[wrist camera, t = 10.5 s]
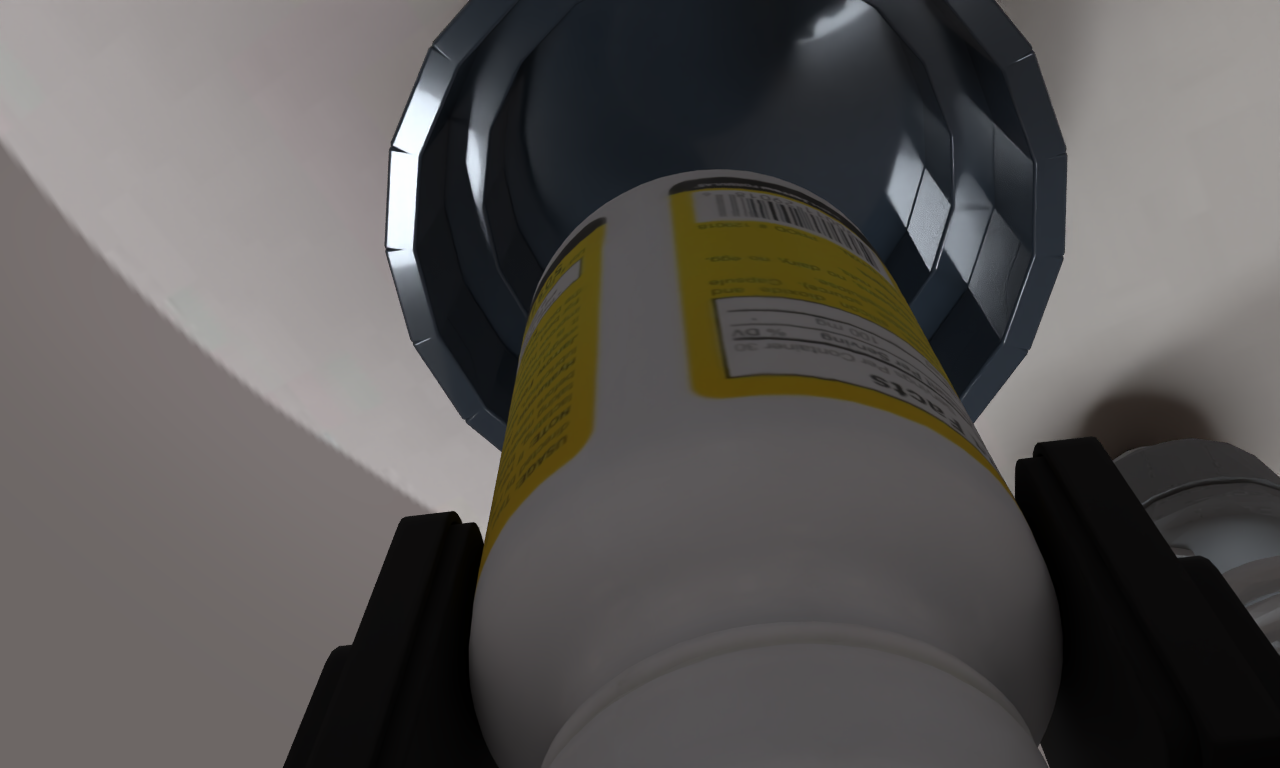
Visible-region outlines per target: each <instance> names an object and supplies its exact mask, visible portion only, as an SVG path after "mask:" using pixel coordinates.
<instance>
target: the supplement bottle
mask: <svg viewBox="0 0 1280 768" xmlns="http://www.w3.org/2000/svg"><path fill="white" fill-rule="evenodd" d="M1062 665H1063V631H1062V624H1061V617H1060V609H1059V603H1058V599H1057V596H1056V592H1055V588H1054V586H1053V583H1052V580H1051V577H1050V574H1049V571H1048V568H1047V565H1046V563H1045V561H1044V559H1043V556H1042V554H1041V552H1040V550H1039V548H1038V545H1037V543H1036V541H1035V538H1034V536H1033V533H1032V531H1031V529H1030V527H1029V525H1028V523H1027V521H1026V519H1025V517H1024V515H1023V513H1022V511H1021V510H1020V508H1019V506H1018V504H1017V503H1016V501H1015V498H1014V496H1013V495H1012V493H1011V491H1010V490H1009V488H1008V486H1007V485H1006V483H1005V481H1004V479H1003V478H1002V476H1001V474H1000V472H999V470H998V469H997V467H996V465H995V463H994V461H993V459H992V458H991V456H990V454H989V452H988V450H987V449H986V447H985V445H984V443H983V441H982V439H981V437H980V435H979V434H978V432H977V430H976V428H975V426H974V424H973V423H972V421H971V419H970V417H969V415H968V414H967V412H966V410H965V408H964V406H963V404H962V403H961V401H960V399H959V397H958V395H957V393H956V392H955V390H954V388H953V386H952V384H951V382H950V380H949V379H948V377H947V375H946V373H945V371H944V369H943V368H942V366H941V364H940V362H939V360H938V359H937V357H936V355H935V354H934V352H933V350H932V348H931V346H930V344H929V342H928V340H927V338H926V336H925V335H924V333H923V331H922V329H921V327H920V326H919V324H918V322H917V320H916V318H915V316H914V314H913V313H912V311H911V309H910V307H909V305H908V304H907V302H906V300H905V298H904V297H903V295H902V293H901V291H900V290H899V288H898V286H897V284H896V282H895V280H894V279H893V277H892V276H891V274H890V273H889V271H888V269H887V267H886V265H885V264H884V262H883V261H882V259H881V258H880V256H879V255H878V253H877V251H876V250H875V249H874V248H873V246H872V245H871V244H870V243H869V241H868V240H867V239H866V237H865V236H864V235H863V234H862V232H861V231H860V230H859V229H858V228H857V227H856V226H855V225H854V224H853V223H852V222H851V221H850V220H849V219H848V218H847V217H846V216H845V215H844V214H843V213H841V212H840V211H839V210H838V209H836V208H835V207H834V206H832V205H831V204H830V203H828V202H827V201H825V200H824V199H822V198H820V197H818V196H817V195H815V194H813V193H812V192H810V191H808V190H806V189H804V188H802V187H799V186H797V185H794V184H792V183H790V182H787V181H784V180H781V179H778V178H775V177H772V176H767V175H763V174H758V173H754V172H749V171H739V170H727V169H714V170H696V171H690V172H684V173H679V174H674V175H670V176H665V177H661V178H658V179H655V180H652V181H650V182H647V183H644V184H641V185H639V186H637V187H635V188H633V189H631V190H629V191H627V192H625V193H623V194H621V195H619V196H617V197H616V198H614V199H612V200H611V201H609V202H607V203H606V204H604V205H603V206H601V207H600V208H599V209H597V210H596V211H595V212H594V213H592V214H591V215H590V216H588V217H587V218H586V219H585V220H584V221H583V222H582V223H581V224H580V225H578V226H577V227H576V228H575V230H574V231H573V232H572V233H571V234H570V235H569V236H568V237H567V238H566V240H565V241H564V242H563V244H562V245H561V246H560V248H559V249H558V250H557V252H556V253H555V254H554V256H553V257H552V259H551V261H550V262H549V264H548V265H547V267H546V269H545V271H544V273H543V275H542V277H541V279H540V281H539V283H538V286H537V289H536V291H535V294H534V297H533V300H532V304H531V307H530V310H529V314H528V318H527V321H526V326H525V331H524V336H523V341H522V346H521V352H520V355H519V362H518V368H517V374H516V381H515V385H514V390H513V396H512V401H511V406H510V411H509V416H508V422H507V428H506V433H505V439H504V443H503V448H502V454H501V459H500V465H499V470H498V475H497V480H496V485H495V490H494V496H493V501H492V506H491V511H490V516H489V522H488V527H487V532H486V537H485V542H484V547H483V552H482V557H481V563H480V568H479V573H478V579H477V585H476V591H475V597H474V603H473V613H472V622H471V631H470V640H469V680H470V690H471V695H472V700H473V705H474V709H475V713H476V716H477V719H478V723H479V726H480V729H481V732H482V735H483V738H484V740H485V742H486V745H487V747H488V749H489V751H490V753H491V755H492V757H493V759H494V760H495V762H496V764H497V765H498V767H499V768H1048V766H1047V764H1046V762H1045V760H1044V758H1043V756H1042V754H1041V752H1040V751H1039V749H1038V746H1039V744H1040V742H1041V740H1042V738H1043V735H1044V733H1045V731H1046V729H1047V726H1048V724H1049V721H1050V718H1051V716H1052V713H1053V710H1054V706H1055V702H1056V698H1057V694H1058V690H1059V687H1060V682H1061V674H1062Z"/></svg>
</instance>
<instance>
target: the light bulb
mask: <svg viewBox="0 0 1280 768" xmlns="http://www.w3.org/2000/svg"><path fill="white" fill-rule="evenodd" d="M1113 462H1114V464H1115V465H1116V467H1117V468H1118V470H1119V471H1120V473H1121V474H1122V476H1123V477H1124V479H1125V480H1126V482H1127V483H1128V485H1129V486H1130V488H1131V489H1132V491H1133V492H1134V494H1135V495H1136V497H1137V498H1138V500H1139V501H1140V503H1141V504H1142V506H1143V507H1144V509H1145V510H1146V512H1147V513H1148V515H1149V516H1150V518H1151V519H1152V521H1153V522H1154V524H1155V525H1156V527H1157V528H1158V530H1159V531H1160V533H1161V534H1162V536H1163V537H1164V539H1165V540H1166V541H1167V543H1168V544H1169V546H1170V547H1171V549H1172V550H1173V552H1174V553H1175V555H1176V556H1177V558H1180V557H1189V556H1199V555H1200V556H1203V557H1205V558H1207V559H1209V560H1210V561H1211V562H1212V563H1213V564H1214V565H1215V566H1216V568H1217V569H1218V570H1219V571H1220V573H1221V574H1222V575H1223V577H1224V578H1225V580H1226V581H1227V582H1228V584H1229V585H1230V587H1231V588H1232V589H1233V591H1234V592H1235V594H1236V595H1237V596H1238V598H1239V599H1240V601H1241V602H1242V603H1243V605H1244V606H1245V608H1246V609H1247V610H1248V612H1249V613H1250V615H1251V616H1252V617H1253V619H1254V620H1255V622H1256V623H1257V624H1258V626H1259V627H1260V629H1261V630H1262V631H1263V633H1264V634H1265V636H1266V637H1267V639H1268V640H1269V641H1270V643H1271V644H1272V646H1273V647H1274V648H1275V650H1276V651H1277V653H1278V654H1279V655H1280V477H1278V476H1277V475H1276V474H1275V473H1274V472H1273V471H1272V470H1271V469H1269V468H1268V467H1267V466H1266V465H1265V464H1264V463H1263V462H1261V461H1260V460H1259V459H1258V458H1257V457H1256V456H1254V455H1252V454H1250V453H1248V452H1246V451H1244V450H1242V449H1240V448H1238V447H1235V446H1233V445H1231V444H1229V443H1225V442H1217V441H1210V440H1202V439H1195V438H1188V439H1182V440H1175V441H1169V442H1165V443H1161V444H1157V445H1153V446H1145V447H1139V448H1136V449H1133V450H1130V451H1126V452H1125V453H1123V454H1122V455H1120V456H1119V457H1117V458H1115V459H1114V460H1113Z"/></svg>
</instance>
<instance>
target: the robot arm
mask: <svg viewBox="0 0 1280 768" xmlns="http://www.w3.org/2000/svg"><path fill="white" fill-rule="evenodd" d="M1015 501H1016V503H1017V504H1018V506H1019V508H1020V510H1021V511H1022V513H1023V515H1024V517H1025V519H1026V521H1027V523H1028V525H1029V527H1030V529H1031V531H1032V533H1033V536H1034V538H1035V541H1036V543H1037V545H1038V548H1039V550H1040V552H1041V554H1042V556H1043V559H1044V561H1045V563H1046V565H1047V568H1048V571H1049V574H1050V577H1051V580H1052V583H1053V586H1054V588H1055V592H1056V596H1057V599H1058V603H1059V609H1060V617H1061V624H1062V631H1063V665H1062V674H1061V682H1060V687H1059V690H1058V694H1057V698H1056V702H1055V706H1054V710H1053V713H1052V716H1051V718H1050V721H1049V724H1048V726H1047V729H1046V731H1045V733H1044V735H1043V738H1042V740H1041V742H1040V744H1041V746H1042V748H1043V751H1044V754H1045V756H1046V759H1047V761H1048V764H1049V767H1050V768H1280V655H1279V654H1278V653H1277V651H1276V650H1275V648H1274V647H1273V646H1272V644H1271V643H1270V641H1269V640H1268V639H1267V637H1266V636H1265V634H1264V633H1263V631H1262V630H1261V629H1260V627H1259V626H1258V624H1257V623H1256V622H1255V620H1254V619H1253V617H1252V616H1251V615H1250V613H1249V612H1248V610H1247V609H1246V608H1245V606H1244V605H1243V603H1242V602H1241V601H1240V599H1239V598H1238V596H1237V595H1236V594H1235V592H1234V591H1233V589H1232V588H1231V587H1230V585H1229V584H1228V582H1227V581H1226V580H1225V578H1224V577H1223V575H1222V574H1221V573H1220V571H1219V570H1218V569H1217V568H1216V566H1215V565H1214V564H1213V563H1212V562H1211V561H1210V560H1209V559H1207V558H1205V557H1203V556H1200V555H1199V556H1189V557H1180V558H1177V556H1176V555H1175V553H1174V552H1173V550H1172V549H1171V547H1170V546H1169V544H1168V543H1167V541H1166V540H1165V539H1164V537H1163V536H1162V534H1161V533H1160V531H1159V530H1158V528H1157V527H1156V525H1155V524H1154V522H1153V521H1152V519H1151V518H1150V516H1149V515H1148V513H1147V512H1146V510H1145V509H1144V507H1143V506H1142V504H1141V503H1140V501H1139V500H1138V498H1137V497H1136V495H1135V494H1134V492H1133V491H1132V489H1131V488H1130V486H1129V485H1128V483H1127V482H1126V480H1125V479H1124V477H1123V476H1122V474H1121V473H1120V471H1119V470H1118V468H1117V467H1116V465H1115V464H1114V462H1113V461H1112V459H1111V458H1110V456H1109V455H1108V453H1107V452H1106V450H1105V449H1104V447H1103V446H1102V444H1101V443H1100V442H1099V441H1098V440H1097V438H1096V437H1083V438H1075V439H1066V440H1057V441H1049V442H1040V443H1037V444H1036V445H1035V447H1034V451H1033V458H1025V459H1018V461H1017V463H1016V467H1015ZM483 547H484V543H483V539H482V536H481V533H480V530H479V527H478V526H477V524H476V523H474V522H472V523H463V524H462V521H461V519H460V517H459V515H458V514H457V513H456V512H454V511H450V512H442V513H433V514H425V515H417V516H408V517H404V518H402V519H401V521H400V523H399V524H398V527H397V530H396V532H395V535H394V537H393V540H392V543H391V545H390V548H389V550H388V553H387V556H386V558H385V561H384V564H383V566H382V569H381V572H380V574H379V577H378V579H377V582H376V584H375V587H374V589H373V592H372V595H371V597H370V600H369V603H368V606H367V608H366V610H365V613H364V616H363V618H362V621H361V623H360V626H359V629H358V631H357V634H356V637H355V639H354V642H353V644H352V645H346V646H339V647H337V648H336V649H335V650H333V651H332V652H331V654H330V656H329V658H328V659H327V661H326V663H325V665H324V668H323V670H322V673H321V675H320V678H319V680H318V683H317V685H316V688H315V690H314V692H313V695H312V697H311V700H310V702H309V705H308V707H307V710H306V712H305V714H304V717H303V719H302V722H301V724H300V727H299V729H298V732H297V734H296V737H295V739H294V742H293V744H292V746H291V749H290V751H289V754H288V756H287V759H286V761H285V764H284V766H283V768H499V767H498V765H497V764H496V762H495V760H494V759H493V757H492V755H491V753H490V751H489V749H488V747H487V745H486V742H485V740H484V738H483V735H482V732H481V729H480V726H479V723H478V719H477V716H476V713H475V709H474V705H473V700H472V695H471V690H470V680H469V640H470V631H471V622H472V613H473V603H474V597H475V591H476V585H477V579H478V573H479V568H480V563H481V557H482V552H483Z"/></svg>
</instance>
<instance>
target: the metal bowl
mask: <svg viewBox="0 0 1280 768" xmlns="http://www.w3.org/2000/svg"><path fill="white" fill-rule="evenodd" d="M714 169H727V170H739V171H749V172H754V173H758V174H763V175H767V176H772V177H775V178H778V179H781V180H784V181H787V182H790V183H792V184H794V185H797V186H799V187H802V188H804V189H806V190H808V191H810V192H812V193H813V194H815V195H817V196H818V197H820V198H822V199H824V200H825V201H827V202H828V203H830V204H831V205H832V206H834V207H835V208H836V209H838V210H839V211H840V212H841V213H843V214H844V215H845V216H846V217H847V218H848V219H849V220H850V221H851V222H852V223H853V224H854V225H855V226H856V227H857V228H858V229H859V230H860V231H861V232H862V234H863V235H864V236H865V237H866V239H867V240H868V241H869V243H870V244H871V245H872V246H873V248H874V249H875V250H876V251H877V253H878V255H879V256H880V258H881V259H882V261H883V262H884V264H885V265H886V267H887V269H888V271H889V273H890V274H891V276H892V277H893V279H894V280H895V282H896V284H897V286H898V288H899V290H900V291H901V293H902V295H903V297H904V298H905V300H906V302H907V304H908V305H909V307H910V309H911V311H912V313H913V314H914V316H915V318H916V320H917V322H918V324H919V326H920V327H921V329H922V331H923V333H924V335H925V336H926V338H927V340H928V342H929V344H930V346H931V348H932V350H933V352H934V354H935V355H936V357H937V359H938V360H939V362H940V364H941V366H942V368H943V369H944V371H945V373H946V375H947V377H948V379H949V380H950V382H951V384H952V386H953V388H954V390H955V392H956V393H957V395H958V397H959V399H960V401H961V403H962V404H963V406H964V408H965V410H966V412H967V414H968V415H969V417H970V419H971V421H972V423H973V424H974V422H975V421H976V420H977V418H978V417H979V416H980V414H981V413H982V412H983V411H984V409H985V408H986V407H987V405H988V404H989V403H990V401H991V400H992V399H993V398H994V396H995V395H996V394H997V392H998V391H999V390H1000V389H1001V387H1002V386H1003V385H1004V383H1005V382H1006V381H1007V379H1008V378H1009V377H1010V376H1011V374H1012V373H1013V372H1014V370H1015V369H1016V368H1017V366H1018V365H1019V364H1020V363H1021V361H1022V360H1023V359H1024V357H1025V356H1026V355H1027V353H1028V350H1030V348H1031V346H1032V343H1033V340H1034V338H1035V335H1036V332H1037V330H1038V327H1039V324H1040V322H1041V319H1042V316H1043V313H1044V311H1045V308H1046V305H1047V303H1048V300H1049V297H1050V295H1051V292H1052V289H1053V286H1054V284H1055V281H1056V278H1057V276H1058V273H1059V270H1060V267H1061V265H1062V262H1063V259H1064V258H1063V255H1064V253H1065V226H1066V190H1067V153H1066V145H1065V142H1064V139H1063V136H1062V133H1061V130H1060V127H1059V124H1058V121H1057V118H1056V115H1055V112H1054V109H1053V106H1052V103H1051V100H1050V97H1049V94H1048V91H1047V88H1046V85H1045V82H1044V79H1043V76H1042V73H1041V70H1040V67H1039V64H1038V61H1037V58H1036V54H1035V52H1034V51H1033V50H1032V46H1031V44H1030V43H1029V42H1028V41H1027V40H1026V38H1025V37H1024V36H1023V35H1022V33H1021V32H1020V31H1019V30H1018V28H1017V27H1016V26H1015V25H1014V23H1013V22H1012V21H1011V20H1010V18H1009V17H1008V16H1007V15H1006V14H1005V12H1004V11H1003V10H1002V9H1001V7H1000V6H999V5H998V4H997V2H996V1H995V0H469V1H468V2H467V4H466V5H465V6H464V7H463V8H462V9H461V10H460V11H459V13H458V14H457V15H456V16H455V17H454V18H453V19H452V21H451V22H450V23H449V24H448V25H447V26H446V27H445V29H444V30H443V31H442V32H441V33H440V34H439V35H438V36H437V38H436V39H435V40H434V41H433V43H432V46H431V47H430V48H429V49H428V51H427V54H426V56H425V59H424V61H423V64H422V66H421V69H420V71H419V74H418V76H417V78H416V81H415V83H414V86H413V88H412V91H411V93H410V96H409V98H408V101H407V103H406V106H405V108H404V111H403V113H402V116H401V118H400V121H399V123H398V126H397V128H396V130H395V133H394V135H393V138H392V140H391V147H390V149H389V161H388V182H387V203H386V223H385V244H384V245H385V248H386V250H385V253H386V256H387V260H388V263H389V267H390V270H391V274H392V277H393V280H394V284H395V287H396V291H397V294H398V298H399V301H400V305H401V308H402V312H403V315H404V319H405V322H406V326H407V329H408V333H409V336H410V340H411V341H412V342H413V345H414V347H415V349H416V350H417V352H418V353H419V355H420V356H421V357H422V359H423V360H424V362H425V363H426V365H427V366H428V368H429V369H430V371H431V372H432V374H433V375H434V377H435V378H436V380H437V381H438V383H439V384H440V386H441V387H442V389H443V390H444V392H445V393H446V395H447V396H448V398H449V399H450V401H451V402H452V404H453V405H454V407H455V408H456V410H457V411H458V413H459V414H460V416H461V417H462V419H464V420H465V419H466V420H465V421H466V423H467V424H468V425H469V426H471V427H472V428H473V429H474V430H476V431H477V432H478V433H479V434H480V435H482V436H483V437H484V438H485V439H487V440H488V441H489V442H490V443H491V444H493V445H494V446H495V447H496V448H497V449H499V450H500V451H501V452H502V448H503V443H504V439H505V433H506V428H507V422H508V416H509V411H510V406H511V401H512V396H513V390H514V385H515V381H516V374H517V368H518V362H519V355H520V352H521V346H522V341H523V336H524V331H525V326H526V321H527V318H528V314H529V310H530V307H531V304H532V300H533V297H534V294H535V291H536V289H537V286H538V283H539V281H540V279H541V277H542V275H543V273H544V271H545V269H546V267H547V265H548V264H549V262H550V261H551V259H552V257H553V256H554V254H555V253H556V252H557V250H558V249H559V248H560V246H561V245H562V244H563V242H564V241H565V240H566V238H567V237H568V236H569V235H570V234H571V233H572V232H573V231H574V230H575V228H576V227H577V226H578V225H580V224H581V223H582V222H583V221H584V220H585V219H586V218H587V217H588V216H590V215H591V214H592V213H594V212H595V211H596V210H597V209H599V208H600V207H601V206H603V205H604V204H606V203H607V202H609V201H611V200H612V199H614V198H616V197H617V196H619V195H621V194H623V193H625V192H627V191H629V190H631V189H633V188H635V187H637V186H639V185H641V184H644V183H647V182H650V181H652V180H655V179H658V178H661V177H665V176H670V175H674V174H679V173H684V172H690V171H696V170H714Z"/></svg>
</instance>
